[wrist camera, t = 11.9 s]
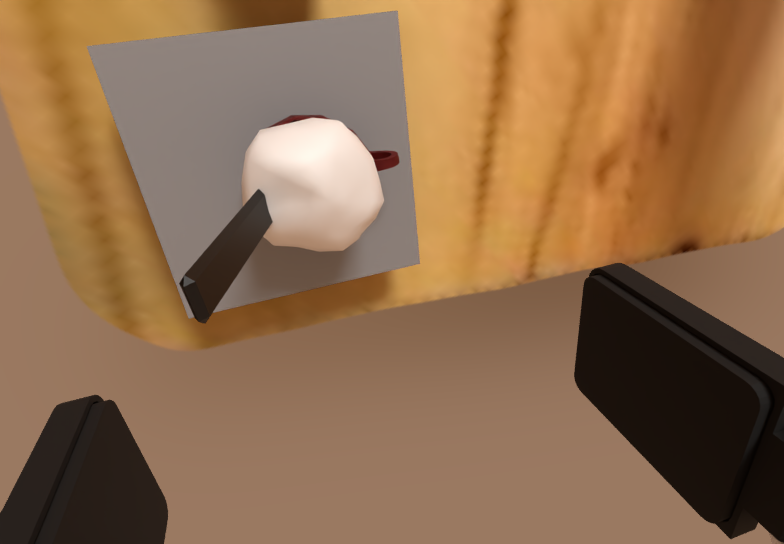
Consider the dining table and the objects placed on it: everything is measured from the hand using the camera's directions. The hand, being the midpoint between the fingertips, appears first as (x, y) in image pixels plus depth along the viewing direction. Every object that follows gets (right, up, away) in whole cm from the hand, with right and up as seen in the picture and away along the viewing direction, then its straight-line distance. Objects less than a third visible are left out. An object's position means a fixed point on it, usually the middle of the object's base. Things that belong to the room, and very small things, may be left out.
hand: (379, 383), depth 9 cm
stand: (-7, +9, +20) cm, 23 cm away
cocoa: (-5, +8, +15) cm, 18 cm away
